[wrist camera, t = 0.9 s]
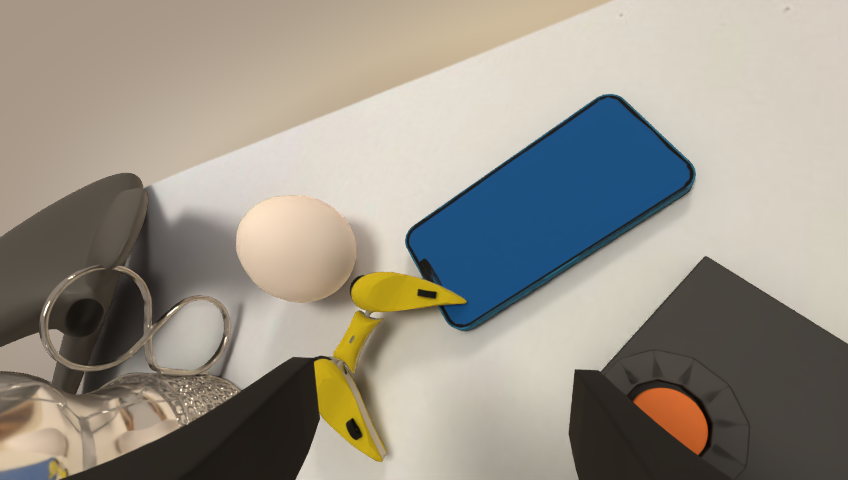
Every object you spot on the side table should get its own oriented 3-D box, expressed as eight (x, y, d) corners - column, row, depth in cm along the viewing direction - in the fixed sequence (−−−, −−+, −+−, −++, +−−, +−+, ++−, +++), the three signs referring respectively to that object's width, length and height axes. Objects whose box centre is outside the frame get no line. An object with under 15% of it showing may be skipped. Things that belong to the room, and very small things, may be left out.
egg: (392, 276, 28) (314, 238, 21) (316, 329, 29) (219, 310, 22) (355, 203, 31) (277, 149, 24) (288, 254, 32) (195, 217, 25)
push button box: (961, 427, 16) (1025, 434, 13) (779, 617, 16) (807, 659, 14) (701, 262, 21) (711, 244, 18) (566, 411, 22) (558, 414, 19)
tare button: (717, 423, 17) (725, 426, 16) (672, 472, 17) (675, 479, 16) (656, 374, 18) (659, 372, 17) (615, 420, 18) (614, 422, 17)
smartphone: (706, 177, 21) (454, 337, 24) (703, 185, 22) (460, 339, 25) (611, 86, 25) (399, 234, 27) (611, 96, 26) (405, 239, 28)
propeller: (124, 268, 49) (25, 244, 44) (199, 77, 38) (77, 19, 33) (41, 482, 32) (-130, 481, 28) (132, 254, 21) (-128, 189, 17)
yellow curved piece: (503, 412, 25) (451, 250, 27) (507, 432, 22) (448, 245, 23) (342, 458, 26) (300, 298, 28) (323, 484, 23) (276, 299, 24)
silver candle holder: (117, 603, 29) (-283, 771, 16) (132, 337, 36) (-135, 308, 23) (271, 578, 25) (-93, 771, 12) (253, 286, 32) (12, 219, 20)
